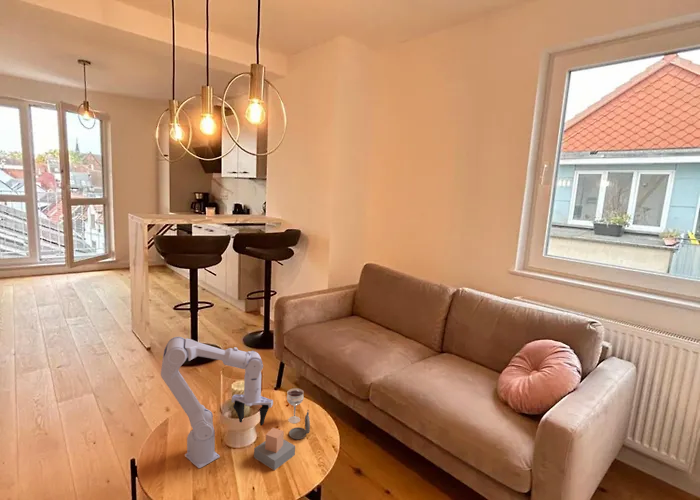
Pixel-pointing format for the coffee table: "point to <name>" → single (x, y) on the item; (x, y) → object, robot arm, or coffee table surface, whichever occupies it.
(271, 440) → the terracotta block
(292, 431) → the pocket watch
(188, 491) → the coffee table surface
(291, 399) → the wineglass
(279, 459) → the slate slab
